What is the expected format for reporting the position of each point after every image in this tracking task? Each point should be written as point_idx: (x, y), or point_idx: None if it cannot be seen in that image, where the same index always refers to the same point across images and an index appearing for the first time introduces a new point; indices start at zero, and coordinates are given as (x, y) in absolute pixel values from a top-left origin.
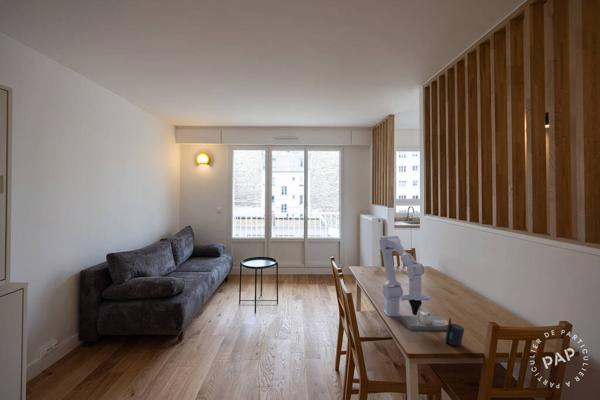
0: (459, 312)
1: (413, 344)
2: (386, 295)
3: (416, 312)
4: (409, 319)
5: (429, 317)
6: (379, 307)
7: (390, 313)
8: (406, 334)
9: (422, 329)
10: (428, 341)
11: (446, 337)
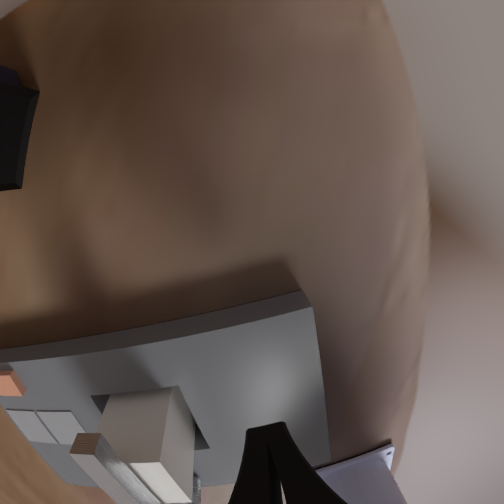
0: (28, 499)
1: (318, 9)
2: None
3: (257, 453)
4: None
5: None
6: None
7: (378, 465)
8: (353, 186)
9: (182, 320)
10: (169, 80)
11: (6, 157)
